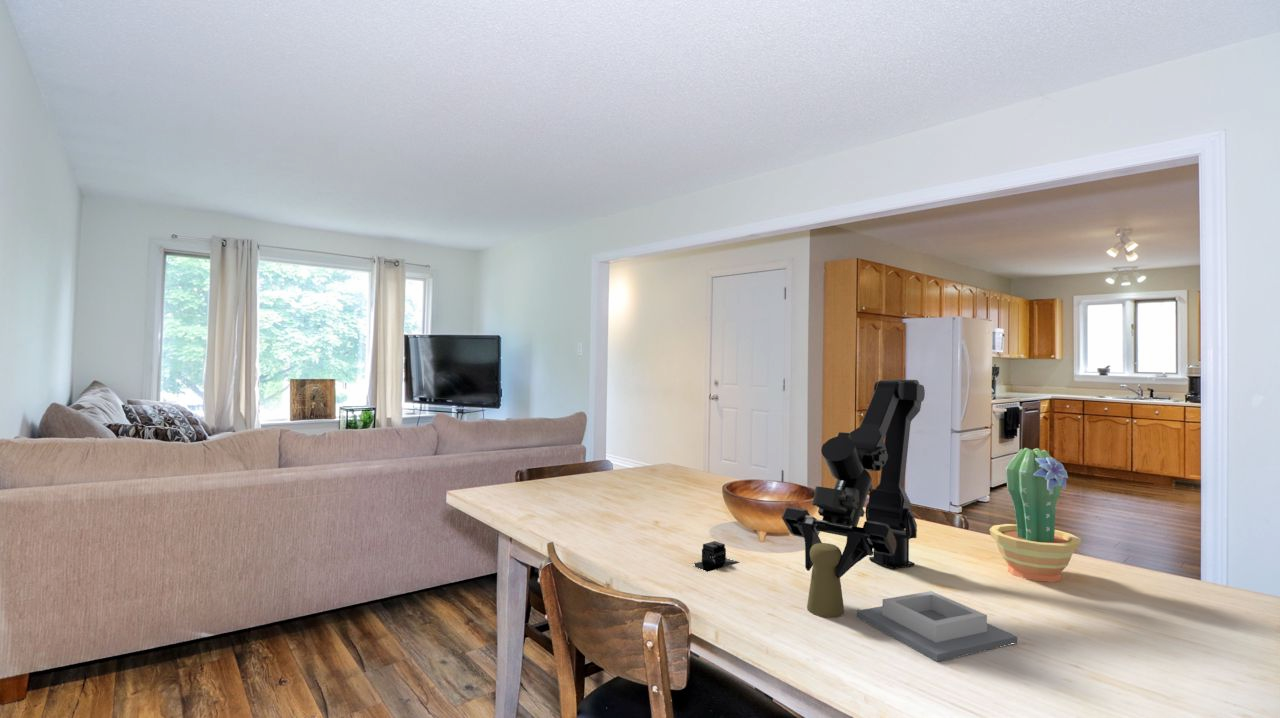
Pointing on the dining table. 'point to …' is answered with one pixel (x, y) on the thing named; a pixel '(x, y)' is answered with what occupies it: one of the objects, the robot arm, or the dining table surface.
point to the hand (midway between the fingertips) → (822, 573)
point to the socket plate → (935, 625)
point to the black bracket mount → (714, 557)
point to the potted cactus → (1035, 519)
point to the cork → (825, 582)
